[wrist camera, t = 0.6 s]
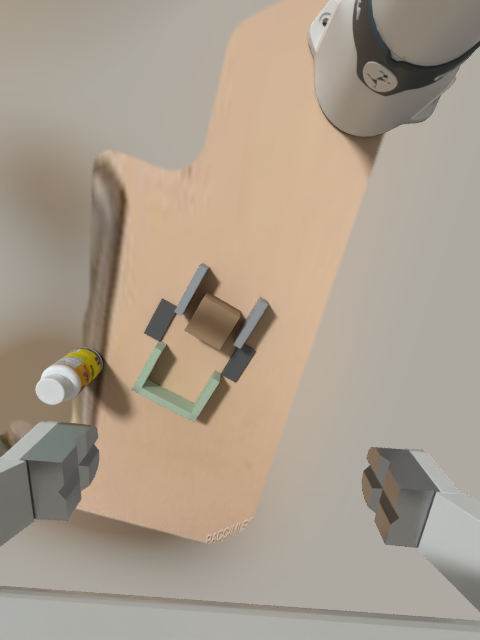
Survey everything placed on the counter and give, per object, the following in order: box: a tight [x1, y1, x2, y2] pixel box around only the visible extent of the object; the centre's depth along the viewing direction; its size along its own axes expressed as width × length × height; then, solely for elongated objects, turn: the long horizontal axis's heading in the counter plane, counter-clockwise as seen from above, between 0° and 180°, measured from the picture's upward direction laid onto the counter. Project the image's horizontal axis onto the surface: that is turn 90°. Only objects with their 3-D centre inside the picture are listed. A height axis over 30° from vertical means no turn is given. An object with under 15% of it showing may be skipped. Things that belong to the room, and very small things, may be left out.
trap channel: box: [132, 263, 268, 422], centre depth 48 cm, size 23×17×3 cm
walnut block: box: [184, 292, 240, 350], centre depth 46 cm, size 6×6×4 cm
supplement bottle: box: [36, 347, 103, 405], centre depth 45 cm, size 6×6×10 cm
